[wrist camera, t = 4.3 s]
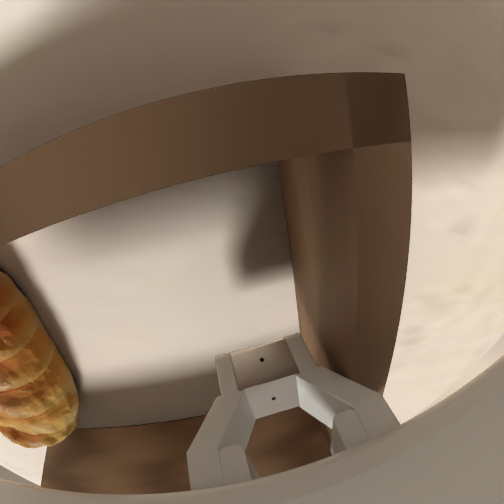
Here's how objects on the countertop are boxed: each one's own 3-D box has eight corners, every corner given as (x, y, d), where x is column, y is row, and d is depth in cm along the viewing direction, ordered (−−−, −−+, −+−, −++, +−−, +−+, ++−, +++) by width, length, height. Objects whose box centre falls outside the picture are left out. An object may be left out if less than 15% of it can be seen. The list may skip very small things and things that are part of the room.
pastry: (-59, 253, 8) (-103, 298, 4) (47, 258, 9) (4, 321, 6) (1, 391, 12) (-15, 438, 8) (94, 408, 13) (86, 465, 10)
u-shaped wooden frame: (301, 85, 8) (404, 73, 4) (326, 394, 15) (359, 465, 11) (-82, 235, 7) (-141, 290, 2) (61, 438, 14) (52, 499, 10)
